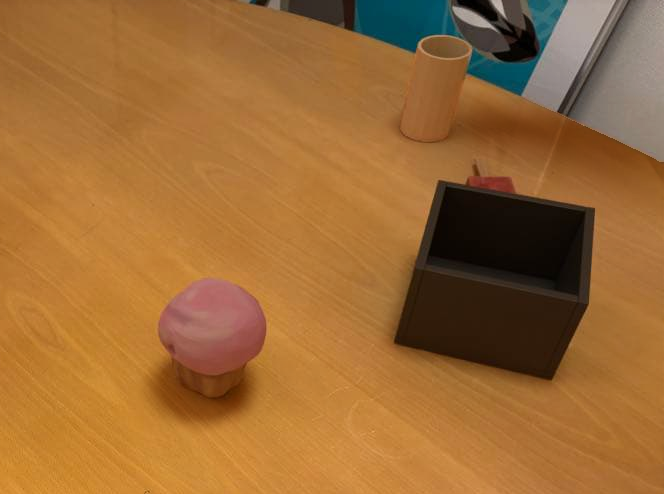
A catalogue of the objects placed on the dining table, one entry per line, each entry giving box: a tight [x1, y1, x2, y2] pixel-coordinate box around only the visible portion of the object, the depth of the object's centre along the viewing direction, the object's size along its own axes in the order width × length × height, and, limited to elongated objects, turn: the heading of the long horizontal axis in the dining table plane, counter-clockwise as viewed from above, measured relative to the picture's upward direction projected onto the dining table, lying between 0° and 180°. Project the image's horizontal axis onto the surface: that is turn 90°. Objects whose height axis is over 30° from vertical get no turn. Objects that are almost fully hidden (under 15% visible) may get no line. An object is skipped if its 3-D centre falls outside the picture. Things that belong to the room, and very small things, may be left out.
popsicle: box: [465, 155, 517, 194], centre depth 92 cm, size 4×2×15 cm
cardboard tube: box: [399, 34, 473, 143], centre depth 99 cm, size 6×6×10 cm
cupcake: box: [157, 277, 267, 399], centre depth 73 cm, size 9×9×10 cm
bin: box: [393, 179, 596, 381], centre depth 78 cm, size 14×14×9 cm
